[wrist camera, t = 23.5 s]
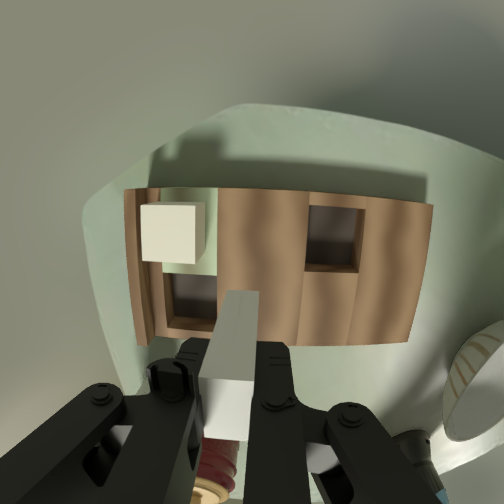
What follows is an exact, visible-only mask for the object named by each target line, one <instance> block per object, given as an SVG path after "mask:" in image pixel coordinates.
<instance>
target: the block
mask: <svg viewBox="0 0 504 504" xmlns="http://www.w3.org/2000/svg"><path fill="white" fill-rule="evenodd" d="M141 243H142V261H154V262H169V263H184V264H196V263H197V261H198V260H199V259H200V258H201V257H202V255H203V254H204V253H205V202H167V201H157V202H152V203H148V204H143V205H141Z"/></svg>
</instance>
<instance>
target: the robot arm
mask: <svg viewBox="0 0 504 504" xmlns="http://www.w3.org/2000/svg"><path fill="white" fill-rule="evenodd" d="M258 304H259V291H245V290H227V292H226V295H225V298H224V301H223V304H222V306H221V309H220V312H219V315H218V318H217V321H216V324H215V327H214V330H213V333H212V336H211V339H208V338H197V337H190V338H189V339H187V340H186V341H185V342H183V343H182V345H181V347H180V349H179V353H177V356H176V359H175V358H165V359H160V360H157V361H154V362H152V363H150V364H149V365H148V366H147V368H146V373H147V377H148V382H149V387H150V392H149V394H145V395H131V396H123V393H122V392H121V390H120V388H118V387H117V386H115V385H113V384H110V383H97V384H94V385H91V386H89V387H87V388H86V389H85V390H83V391H82V392H81V393H80V394H78V395H77V396H76V397H75V398H74V399H73V400H71V401H70V402H69V403H67V404H66V405H65V406H64V407H62V408H61V409H60V410H59V411H58V412H56V413H55V414H54V415H53V416H51V417H50V418H49V419H48V420H47V421H45V422H44V423H43V424H42V425H40V426H39V427H38V428H37V429H35V430H34V431H33V432H32V433H31V434H29V435H28V436H27V437H26V438H25V439H23V440H22V441H21V442H19V443H18V444H17V445H16V446H15V447H13V448H12V449H11V450H10V451H9V452H7V453H6V454H5V455H3V456H2V457H1V458H0V504H190V502H191V497H192V493H193V488H194V484H195V479H196V475H197V470H198V466H199V461H200V457H201V452H202V443H201V438H202V434H203V430H204V437H207V438H216V439H226V440H238V441H248V448H247V461H246V473H245V485H244V497H243V504H311V497H310V487H309V477H308V472H311V475H312V477H313V479H314V481H315V483H316V486H317V488H318V490H319V492H320V494H321V496H322V499H323V501H324V503H325V504H448V503H449V500H448V497H447V494H446V489H445V488H444V486H443V484H442V482H441V480H440V478H439V475H438V473H437V471H436V469H435V467H434V465H433V463H432V461H431V450H430V440H429V438H428V436H427V434H426V432H424V431H422V430H414V431H409V432H405V433H403V434H400V435H398V436H396V437H394V438H391V436H390V435H389V434H388V432H387V431H386V430H385V428H384V427H383V426H382V425H381V423H380V422H379V421H378V419H377V418H376V417H375V415H374V414H373V413H372V412H371V411H370V410H369V409H368V408H367V407H366V406H363V405H361V404H359V403H353V402H344V403H339V404H337V405H335V406H333V407H332V408H331V409H330V410H329V411H328V412H327V411H322V410H317V409H313V408H310V407H308V406H306V405H304V404H302V403H301V402H300V401H299V400H298V398H297V397H296V395H295V392H294V384H293V376H292V368H291V360H290V352H289V348H288V347H287V346H286V345H285V344H284V343H283V342H274V341H257V325H258Z"/></svg>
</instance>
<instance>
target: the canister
mask: <svg viewBox="0 0 504 504" xmlns="http://www.w3.org/2000/svg"><path fill="white" fill-rule="evenodd" d="M201 443H202V452H201V457H200V461H199V466H198V470H197V475H196V479H195V484H194V488H193V493H192V497H191V502H190V504H217V503H221V502H224V501H225V500H227V499H228V498H229V493H230V492H232V491H233V490H234V488H235V482H234V480H233V478H234V477H235V475H236V473H237V469H236V464H237V454H238V451H239V441H238V440H226V439H216V438H207V437H204V430H203V434H202V438H201Z"/></svg>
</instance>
